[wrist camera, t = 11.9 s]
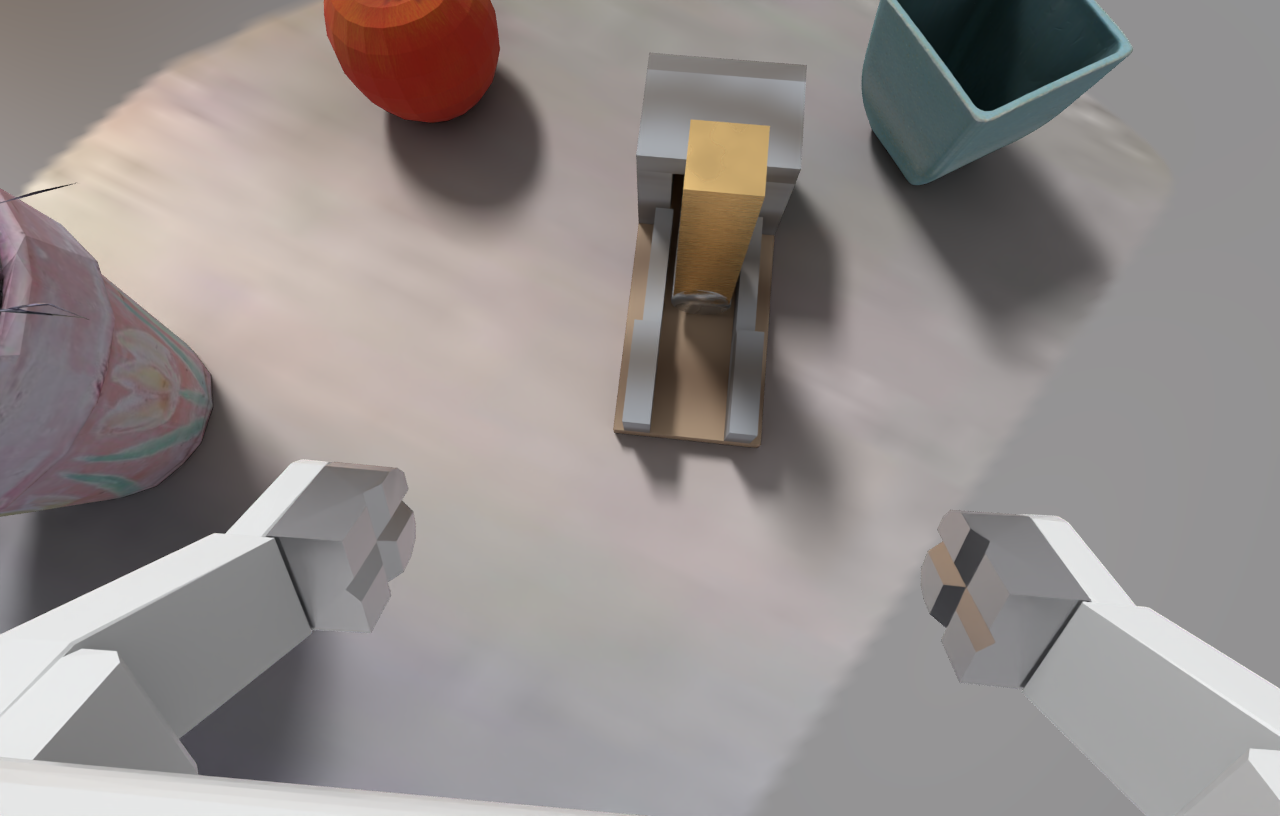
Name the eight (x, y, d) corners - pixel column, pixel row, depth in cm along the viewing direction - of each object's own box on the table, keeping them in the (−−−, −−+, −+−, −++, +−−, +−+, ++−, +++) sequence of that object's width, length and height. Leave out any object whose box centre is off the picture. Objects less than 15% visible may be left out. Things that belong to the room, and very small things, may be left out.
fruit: (385, 169, 37) (289, 35, 27) (356, 50, 39) (257, -115, 29) (530, 129, 37) (488, -18, 28) (494, 12, 39) (443, -162, 30)
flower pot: (900, 227, 35) (982, 123, 27) (825, 116, 37) (879, -15, 28) (1021, 168, 36) (1140, 48, 27) (942, 62, 38) (1029, -82, 29)
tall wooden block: (726, 317, 33) (767, 196, 21) (670, 311, 33) (680, 189, 21) (739, 161, 35) (782, -23, 24) (686, 157, 35) (703, -29, 24)
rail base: (757, 447, 32) (786, 421, 25) (614, 432, 33) (604, 402, 26) (776, 157, 36) (806, 65, 29) (649, 146, 37) (649, 52, 30)
